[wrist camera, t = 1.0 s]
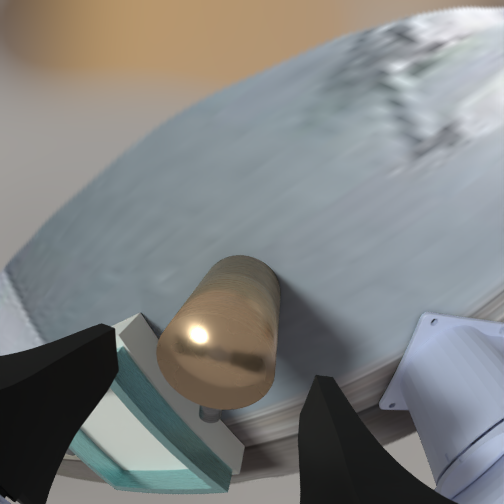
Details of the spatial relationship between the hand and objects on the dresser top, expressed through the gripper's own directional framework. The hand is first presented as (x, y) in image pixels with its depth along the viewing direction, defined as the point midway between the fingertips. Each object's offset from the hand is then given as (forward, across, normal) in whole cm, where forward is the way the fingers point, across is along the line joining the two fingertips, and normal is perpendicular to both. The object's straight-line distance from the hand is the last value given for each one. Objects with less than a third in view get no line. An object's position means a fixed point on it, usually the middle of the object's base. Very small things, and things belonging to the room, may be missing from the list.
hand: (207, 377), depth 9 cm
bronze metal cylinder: (+8, 0, 0) cm, 8 cm away
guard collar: (+5, +7, +12) cm, 15 cm away
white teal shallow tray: (+8, +9, +14) cm, 18 cm away
